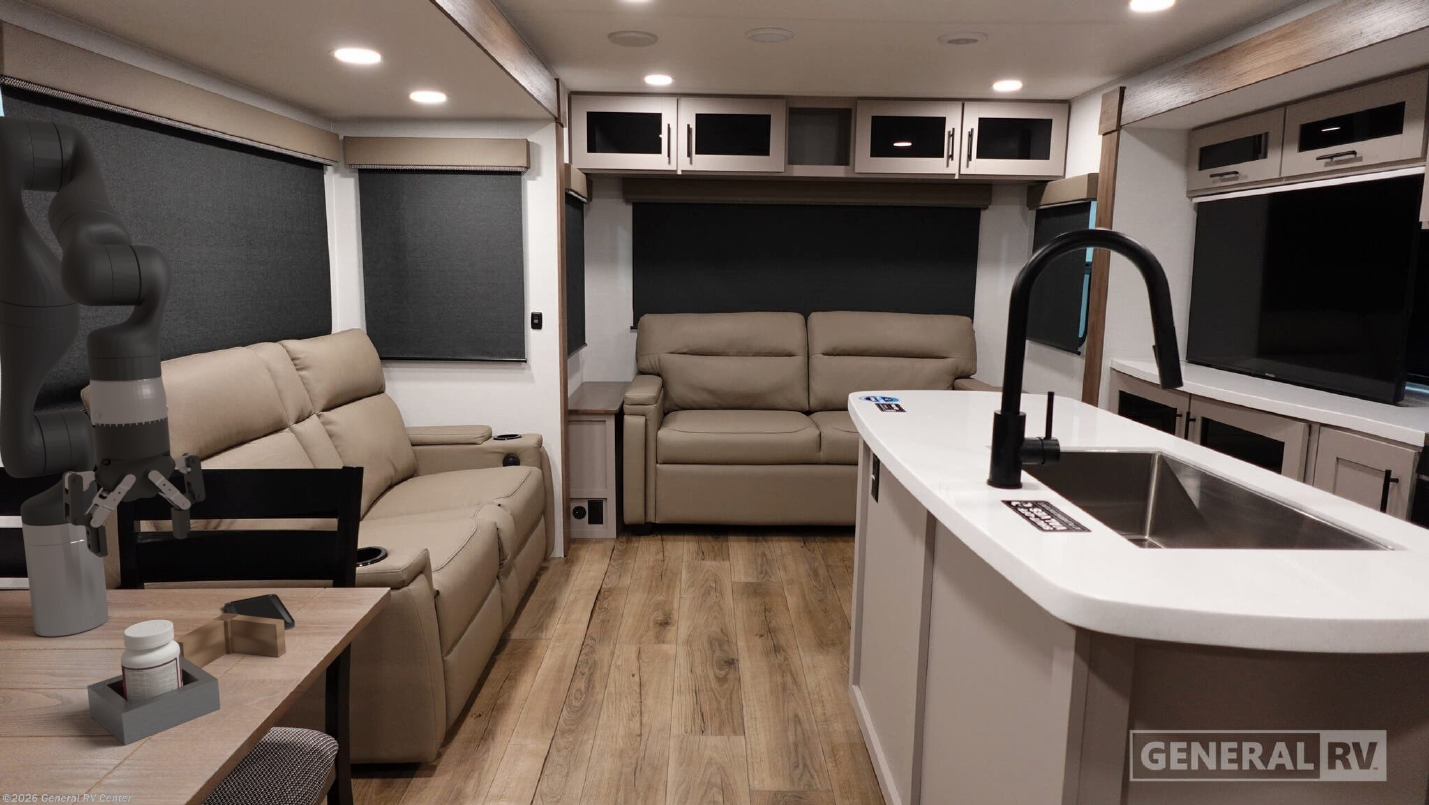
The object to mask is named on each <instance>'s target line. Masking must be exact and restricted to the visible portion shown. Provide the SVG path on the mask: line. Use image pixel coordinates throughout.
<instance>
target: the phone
mask: <svg viewBox="0 0 1429 805" xmlns="http://www.w3.org/2000/svg"><path fill="white" fill-rule="evenodd" d="M223 607H224V612H225V613H231V614H240V615H244V616H253V617H262V618H271V619H280V620H284V630H285V631H288V630H291V629H294V628H295V626H296V622H295V621H296V620H295V619H294V618H293V616H292V615H291V613H290V611H288V609H287V608H286V606H285V604H284V603H283V602H282V600H281V599H280V597H279V596H278V594H276V593H268V594H262V595H258V596H252V597H248V598H242V599H237V600H231V601H228V602H226V603H224V606H223Z"/></svg>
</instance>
